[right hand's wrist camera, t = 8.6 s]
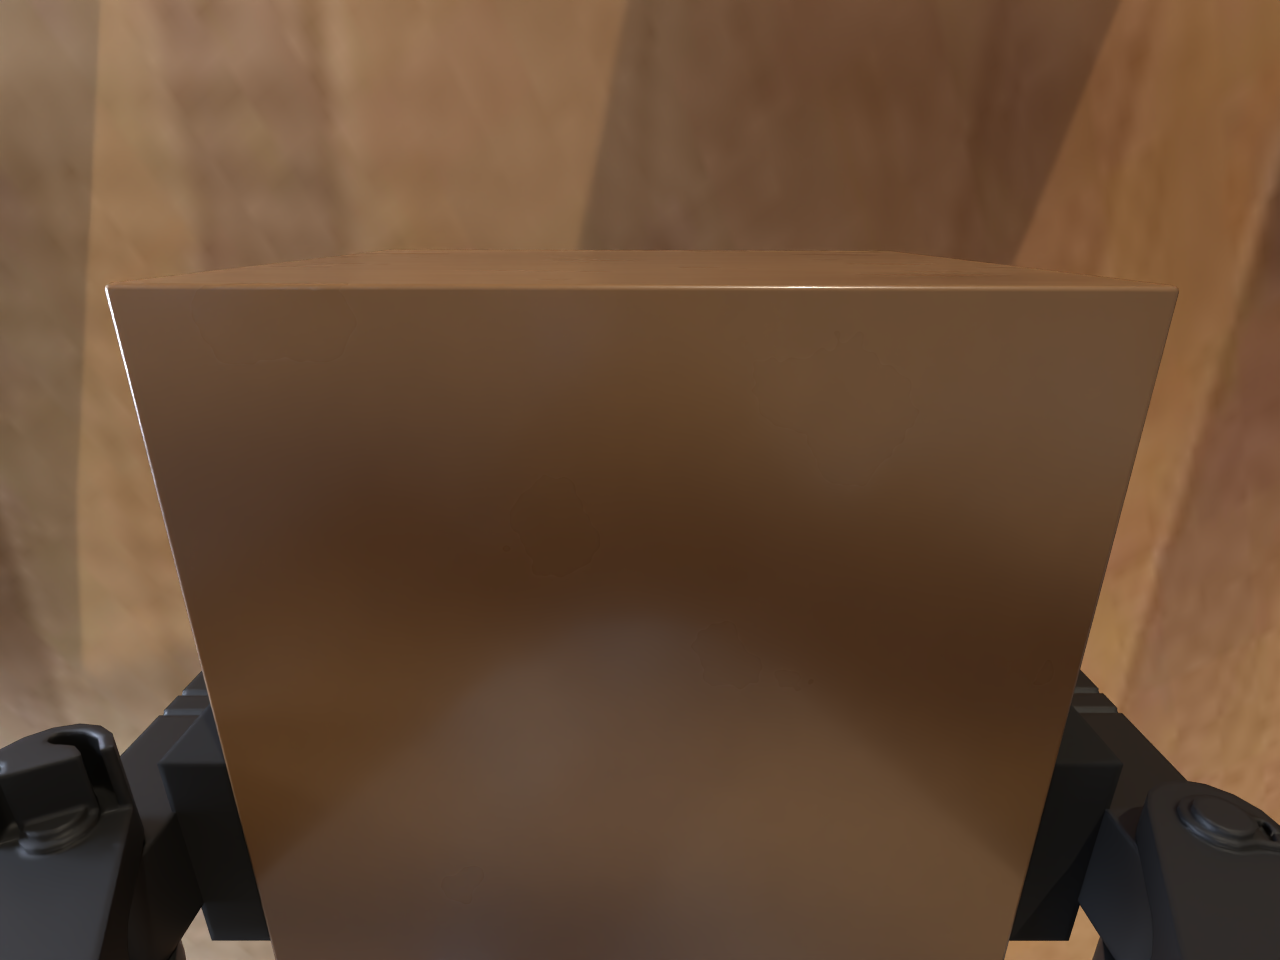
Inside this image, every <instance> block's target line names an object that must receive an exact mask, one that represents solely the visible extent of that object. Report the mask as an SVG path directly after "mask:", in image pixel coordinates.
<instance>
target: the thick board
mask: <svg viewBox="0 0 1280 960" xmlns="http://www.w3.org/2000/svg"><path fill="white" fill-rule="evenodd" d="M105 292H106V296H107V300H108V303H109V307H110V311H111V315H112V319H113V323H114V327H115V331H116V335H117V339H118V343H119V347H120V351H121V354H122V358H123V362H124V366H125V370H126V374H127V378H128V382H129V386H130V390H131V394H132V398H133V402H134V405H135V409H136V413H137V417H138V421H139V425H140V429H141V433H142V437H143V441H144V445H145V449H146V453H147V457H148V460H149V464H150V468H151V472H152V476H153V480H154V484H155V488H156V492H157V496H158V500H159V504H160V508H161V511H162V515H163V519H164V523H165V527H166V531H167V535H168V539H169V543H170V547H171V551H172V555H173V559H174V562H175V566H176V570H177V574H178V578H179V582H180V586H181V590H182V594H183V598H184V602H185V606H186V610H187V614H188V617H189V621H190V625H191V629H192V633H193V637H194V641H195V645H196V649H197V653H198V657H199V661H200V665H201V668H202V672H203V676H204V680H205V684H206V688H207V692H208V696H209V700H210V704H211V708H212V712H213V716H214V719H215V723H216V727H217V731H218V735H219V739H220V743H221V747H222V751H223V755H224V759H225V763H226V767H227V771H228V774H229V778H230V782H231V786H232V790H233V794H234V798H235V802H236V806H237V810H238V814H239V818H240V822H241V825H242V829H243V833H244V837H245V841H246V845H247V849H248V853H249V857H250V861H251V865H252V869H253V873H254V876H255V880H256V884H257V888H258V892H259V896H260V900H261V904H262V908H263V912H264V916H265V920H266V924H267V927H268V931H269V935H270V939H271V943H272V947H273V951H274V955H275V959H276V960H1004V958H1005V954H1006V950H1007V946H1008V942H1009V938H1010V935H1011V931H1012V927H1013V923H1014V919H1015V916H1016V912H1017V908H1018V904H1019V900H1020V896H1021V893H1022V889H1023V885H1024V881H1025V877H1026V874H1027V870H1028V866H1029V862H1030V858H1031V854H1032V851H1033V847H1034V843H1035V839H1036V835H1037V832H1038V828H1039V824H1040V820H1041V816H1042V812H1043V809H1044V805H1045V801H1046V797H1047V793H1048V790H1049V786H1050V782H1051V778H1052V774H1053V770H1054V767H1055V763H1056V759H1057V755H1058V751H1059V748H1060V744H1061V740H1062V736H1063V732H1064V728H1065V725H1066V721H1067V717H1068V713H1069V709H1070V706H1071V702H1072V698H1073V694H1074V690H1075V686H1076V683H1077V679H1078V675H1079V671H1080V667H1081V664H1082V660H1083V656H1084V652H1085V648H1086V644H1087V641H1088V637H1089V633H1090V629H1091V625H1092V622H1093V618H1094V614H1095V610H1096V606H1097V602H1098V599H1099V595H1100V591H1101V587H1102V583H1103V580H1104V576H1105V572H1106V568H1107V564H1108V560H1109V557H1110V553H1111V549H1112V545H1113V541H1114V537H1115V534H1116V530H1117V526H1118V522H1119V518H1120V515H1121V511H1122V507H1123V503H1124V499H1125V495H1126V492H1127V488H1128V484H1129V480H1130V476H1131V473H1132V469H1133V465H1134V461H1135V457H1136V453H1137V450H1138V446H1139V442H1140V438H1141V434H1142V431H1143V427H1144V423H1145V419H1146V415H1147V411H1148V408H1149V404H1150V400H1151V396H1152V392H1153V389H1154V385H1155V381H1156V377H1157V373H1158V369H1159V366H1160V362H1161V358H1162V354H1163V350H1164V347H1165V343H1166V339H1167V335H1168V331H1169V327H1170V324H1171V320H1172V316H1173V312H1174V308H1175V305H1176V301H1177V297H1178V293H1179V290H1178V288H1177V287H1175V286H1173V285H1165V284H1157V283H1149V282H1141V281H1133V280H1124V279H1116V278H1108V277H1100V276H1092V275H1083V274H1075V273H1067V272H1059V271H1051V270H1043V269H1034V268H1026V267H1018V266H1010V265H1002V264H993V263H985V262H977V261H969V260H961V259H953V258H944V257H936V256H928V255H920V254H912V253H903V252H895V251H725V250H383V251H374V252H366V253H358V254H349V255H341V256H332V257H324V258H315V259H307V260H299V261H290V262H282V263H273V264H265V265H256V266H248V267H240V268H231V269H223V270H214V271H206V272H197V273H189V274H181V275H172V276H164V277H155V278H147V279H138V280H130V281H122V282H113V283H109V284H107V285H106V286H105Z"/></svg>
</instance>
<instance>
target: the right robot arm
mask: <svg viewBox="0 0 1280 960" xmlns="http://www.w3.org/2000/svg"><path fill="white" fill-rule="evenodd" d="M1079 906H1081V907H1082V909H1083V910H1084V912H1085V913H1086V915H1087V917H1088V918H1089V920H1090V921H1091V923H1092V924H1093V926H1094V928H1095V929H1096V931H1097V932H1098V934H1099V935H1100V938H1099V941H1098V944H1097V947H1096V950H1095V953H1094V956H1093V959H1092V960H1280V825H1278V824H1277V823H1276V822H1275V821H1274V820H1272V819H1271V818H1270V817H1269V816H1268V815H1266V814H1265V813H1264V812H1263V811H1262V810H1260V809H1258V808H1256V807H1255V806H1253V805H1251V804H1249V803H1248V802H1246V801H1244V800H1242V799H1241V798H1239V797H1237V796H1235V795H1233V794H1231V793H1228V792H1225V791H1223V790H1220V789H1217V788H1215V787H1212V786H1209V785H1207V784H1202V783H1196V782H1190V781H1187V780H1186V779H1185V778H1184V777H1183V776H1182V775H1181V774H1180V773H1179V772H1178V771H1177V770H1176V769H1175V768H1174V767H1173V766H1172V764H1171V763H1170V762H1169V761H1168V760H1167V759H1166V758H1165V757H1164V756H1163V755H1162V754H1161V753H1160V752H1159V751H1158V750H1157V749H1156V748H1155V747H1154V746H1153V745H1152V744H1151V743H1150V742H1149V741H1148V740H1147V739H1146V737H1145V736H1144V735H1143V734H1142V733H1141V732H1140V731H1139V730H1138V729H1137V728H1136V727H1135V726H1134V725H1133V724H1132V723H1131V722H1130V721H1129V720H1128V719H1127V718H1126V717H1125V716H1124V715H1123V714H1122V713H1118V712H1117V707H1116V706H1115V705H1114V704H1113V703H1112V702H1111V701H1110V700H1109V699H1108V698H1107V697H1106V696H1105V695H1104V694H1103V693H1099V691H1098V688H1097V687H1096V686H1095V685H1094V683H1093V682H1092V681H1091V680H1090V679H1089V678H1088V677H1087V676H1086V675H1085V674H1084V673H1083V672H1082V671H1081V670H1080V671H1079V675H1078V679H1077V683H1076V686H1075V690H1074V694H1073V698H1072V702H1071V706H1070V709H1069V713H1068V717H1067V721H1066V725H1065V728H1064V732H1063V736H1062V740H1061V744H1060V748H1059V751H1058V755H1057V759H1056V763H1055V767H1054V770H1053V774H1052V778H1051V782H1050V786H1049V790H1048V793H1047V797H1046V801H1045V805H1044V809H1043V812H1042V816H1041V820H1040V824H1039V828H1038V832H1037V835H1036V839H1035V843H1034V847H1033V851H1032V854H1031V858H1030V862H1029V866H1028V870H1027V874H1026V877H1025V881H1024V885H1023V889H1022V893H1021V896H1020V900H1019V904H1018V908H1017V912H1016V916H1015V919H1014V923H1013V927H1012V931H1011V935H1010V938H1009V941H1069V938H1070V935H1071V931H1072V928H1073V925H1074V922H1075V919H1076V915H1077V912H1078V909H1079ZM201 907H202V910H203V914H204V917H205V920H206V923H207V926H208V930H209V933H210V936H211V939H212V940H271V939H270V935H269V931H268V927H267V924H266V920H265V916H264V912H263V908H262V904H261V900H260V896H259V892H258V888H257V884H256V880H255V876H254V873H253V869H252V865H251V861H250V857H249V853H248V849H247V845H246V841H245V837H244V833H243V829H242V825H241V822H240V818H239V814H238V810H237V806H236V802H235V798H234V794H233V790H232V786H231V782H230V778H229V774H228V771H227V767H226V763H225V759H224V755H223V751H222V747H221V743H220V739H219V735H218V731H217V727H216V723H215V719H214V716H213V712H212V708H211V704H210V700H209V696H208V692H207V688H206V684H205V680H204V676H203V672H202V671H201V672H200V673H199V674H198V675H197V677H196V678H195V679H194V680H193V681H192V682H191V683H190V684H189V685H188V686H187V687H186V688H185V689H184V690H183V694H182V696H177V697H176V698H175V700H174V701H173V702H172V703H171V704H170V705H169V706H168V707H167V708H166V709H165V710H164V715H159V716H158V717H157V718H156V719H155V720H154V721H153V723H152V724H151V725H150V726H149V727H148V728H147V729H146V730H145V731H144V732H143V733H142V734H141V735H140V736H139V737H138V738H137V739H136V740H135V741H134V742H133V743H132V744H131V746H130V747H129V748H128V749H127V750H126V751H125V752H124V753H123V754H122V755H121V756H120V755H119V752H118V749H117V746H116V743H115V740H114V737H113V734H112V733H111V732H109V731H108V730H106V729H105V728H103V727H102V726H99V725H89V724H74V725H68V726H61V727H55V728H51V729H48V730H45V731H42V732H39V733H36V734H33V735H30V736H27V737H24V738H22V739H20V740H18V741H16V742H14V743H12V744H10V745H8V746H6V747H4V748H2V749H0V960H186V956H185V951H184V947H183V944H182V941H181V938H182V937H183V935H184V934H185V932H186V930H187V929H188V927H189V926H190V924H191V923H192V921H193V919H194V918H195V916H196V915H197V913H198V911H199V910H200V908H201Z"/></svg>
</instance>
